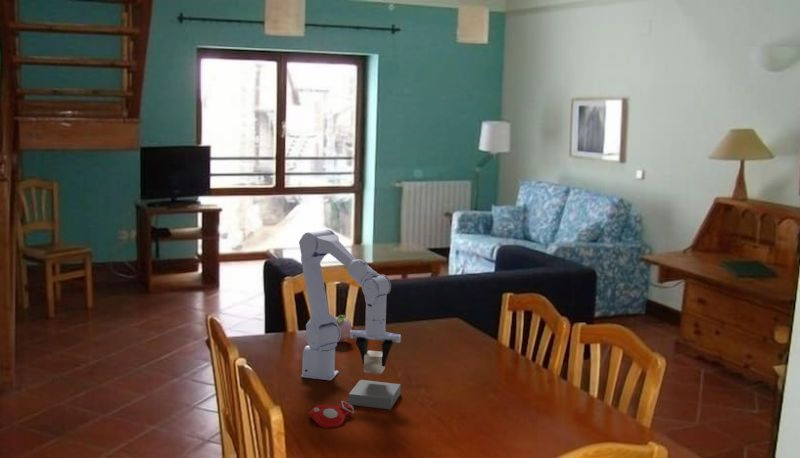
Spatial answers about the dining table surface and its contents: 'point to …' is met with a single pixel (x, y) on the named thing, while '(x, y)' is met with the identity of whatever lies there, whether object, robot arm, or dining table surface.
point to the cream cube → (373, 362)
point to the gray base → (374, 394)
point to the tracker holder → (331, 414)
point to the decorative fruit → (344, 327)
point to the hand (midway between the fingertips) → (374, 364)
